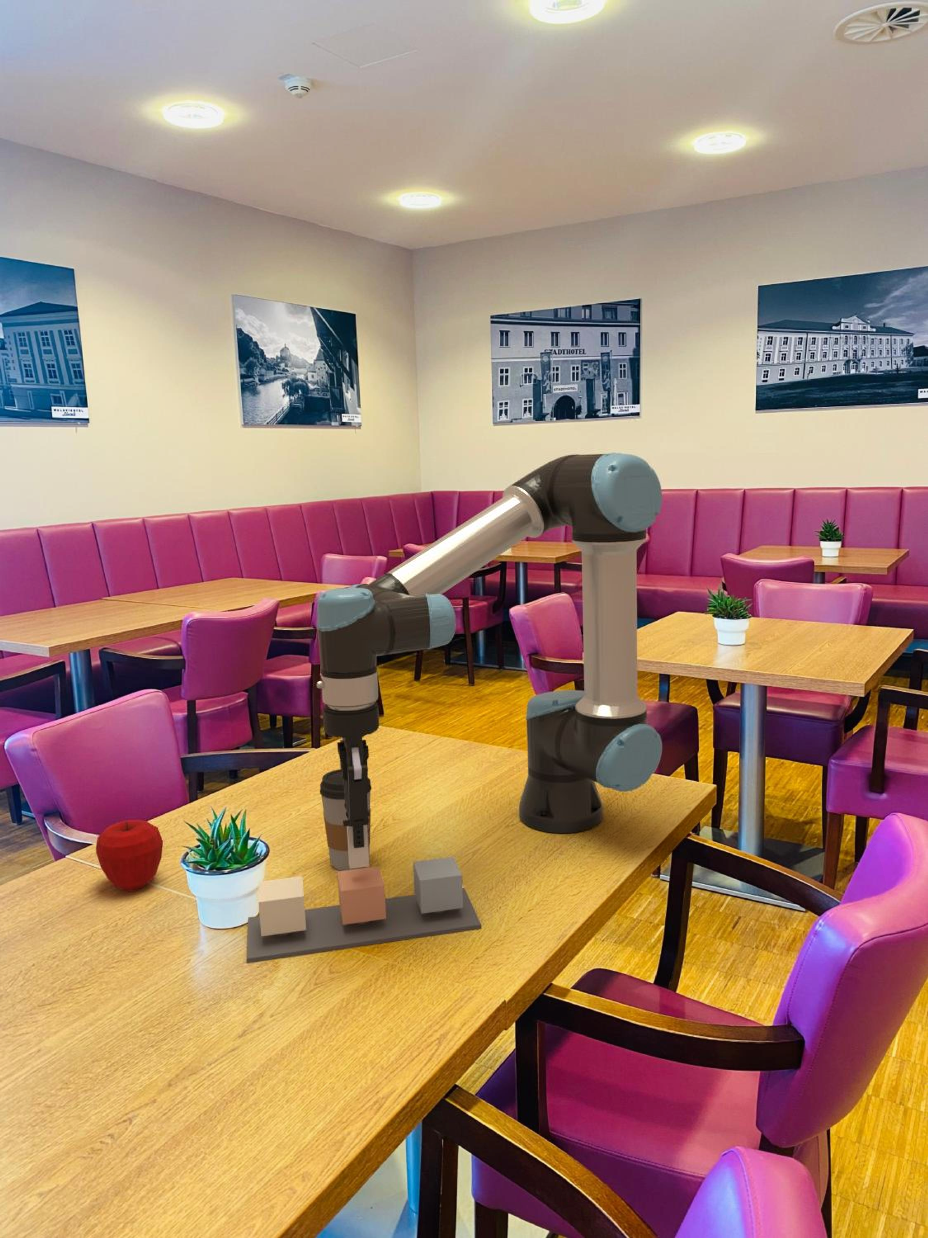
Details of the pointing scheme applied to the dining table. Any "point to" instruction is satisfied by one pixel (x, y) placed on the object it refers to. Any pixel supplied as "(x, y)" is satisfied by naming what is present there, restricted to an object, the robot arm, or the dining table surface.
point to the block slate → (438, 885)
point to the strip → (358, 929)
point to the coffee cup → (338, 818)
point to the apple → (130, 853)
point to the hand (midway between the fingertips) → (359, 865)
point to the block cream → (281, 906)
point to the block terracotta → (361, 895)
